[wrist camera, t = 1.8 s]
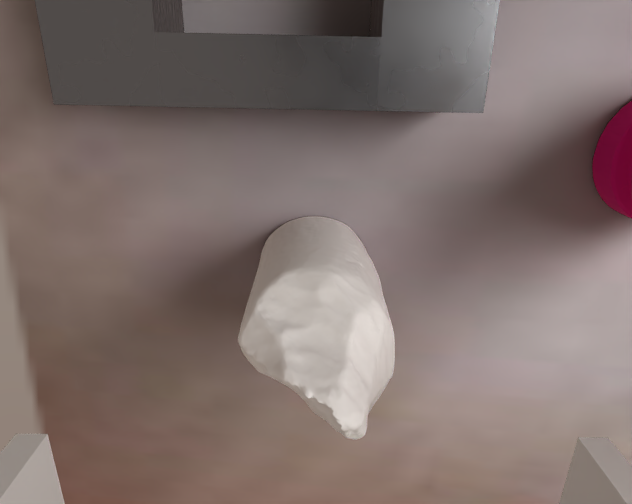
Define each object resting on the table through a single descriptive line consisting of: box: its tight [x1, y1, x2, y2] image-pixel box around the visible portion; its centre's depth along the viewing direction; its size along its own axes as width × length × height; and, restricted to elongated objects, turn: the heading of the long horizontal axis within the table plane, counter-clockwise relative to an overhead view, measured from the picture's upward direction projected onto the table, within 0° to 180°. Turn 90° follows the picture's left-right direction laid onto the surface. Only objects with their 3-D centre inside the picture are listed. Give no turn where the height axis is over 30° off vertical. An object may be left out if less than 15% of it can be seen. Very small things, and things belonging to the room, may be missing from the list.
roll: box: [238, 216, 395, 440], centre depth 18 cm, size 6×12×6 cm
